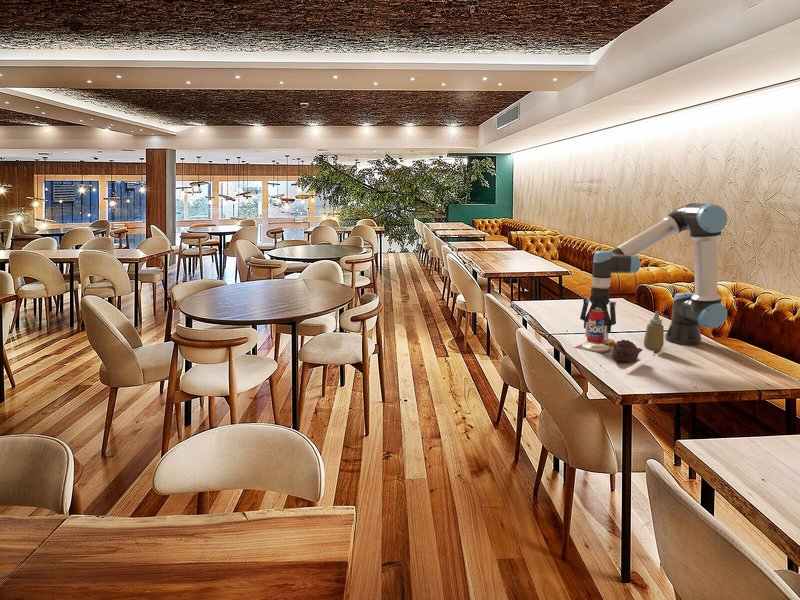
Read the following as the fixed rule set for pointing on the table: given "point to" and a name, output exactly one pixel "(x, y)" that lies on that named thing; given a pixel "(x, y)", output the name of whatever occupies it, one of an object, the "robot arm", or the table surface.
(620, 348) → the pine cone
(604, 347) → the ceramic plate
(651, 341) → the squeeze bottle
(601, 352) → the gear board
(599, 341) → the soda can
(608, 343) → the brass gear
